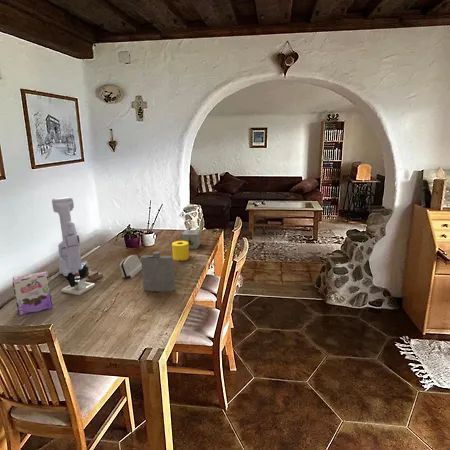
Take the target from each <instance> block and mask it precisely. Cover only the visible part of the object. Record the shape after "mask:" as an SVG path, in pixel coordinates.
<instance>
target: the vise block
mask: <svg viewBox="0 0 450 450" xmlns="http://www.w3.org/2000/svg"><path fill="white" fill-rule="evenodd" d="M74 275H75V277H80V275H79V272H77V273H75V274H74ZM102 277H104V276H103V272H99V271H91V270H89V269H88V270H87V273H86V277H85V281H86V282H89V283H94V282H95V281H98V280H99V279H101V278H102Z"/></svg>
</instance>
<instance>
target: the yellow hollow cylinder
mask: <svg viewBox="0 0 450 450" xmlns="http://www.w3.org/2000/svg"><path fill="white" fill-rule="evenodd" d="M171 248H172V249H171V250H172V251H171V252H172V256H173V261H179V260H181V261H186V260H188V259H189V258H190V252H189V250H190V249H189V246H188V242H187V241H182V240H176V241H173V242H172V243H171ZM179 262H180V261H179Z"/></svg>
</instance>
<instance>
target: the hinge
mask: <svg viewBox="0 0 450 450" xmlns="http://www.w3.org/2000/svg"><path fill="white" fill-rule="evenodd" d="M119 270H120V271H121V275H122V278H127V277H130V278H131V279H132V278H134V277H135V276H136V275H137V274H138V273H139V272H140V271H142V264H141V259H140V258H139V257H138V255H137V254H132V255H129V256H127V257H125V258H124V259H122V260H121V261H120V263H119Z"/></svg>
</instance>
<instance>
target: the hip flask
mask: <svg viewBox="0 0 450 450" xmlns="http://www.w3.org/2000/svg"><path fill="white" fill-rule="evenodd" d="M160 254H161V252H160V251H157V250H156V251H153V252H152V255H150V254H149V255H146V254H144V255H141V256H140V262H141V264H142V269H141V271H142V272H141V275H142V285H143V288H142V289H143V291H146V292H174V291H175V290H176V288H175V285H176V284H175V266H174V259H173V255H160ZM173 290H174V291H173Z"/></svg>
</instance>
